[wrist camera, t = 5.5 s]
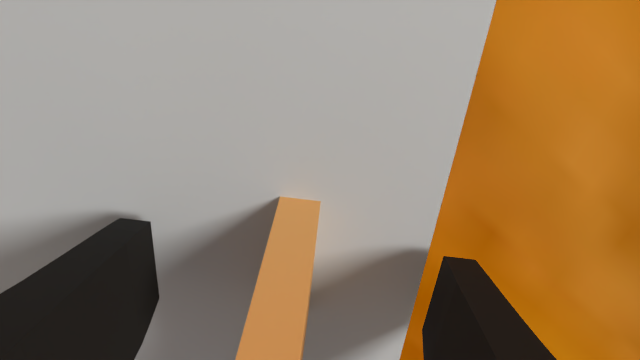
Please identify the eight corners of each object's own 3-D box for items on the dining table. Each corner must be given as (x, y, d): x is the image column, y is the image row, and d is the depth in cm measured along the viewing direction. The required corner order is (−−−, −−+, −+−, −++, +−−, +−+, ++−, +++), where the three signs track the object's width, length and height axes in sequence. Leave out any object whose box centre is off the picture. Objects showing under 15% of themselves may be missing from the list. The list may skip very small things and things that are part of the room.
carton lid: (369, 450, 14) (373, 655, 10) (-95, 392, 14) (-263, 571, 10) (531, -171, 6) (799, -293, 2) (-488, -276, 7) (-1687, -533, 3)
